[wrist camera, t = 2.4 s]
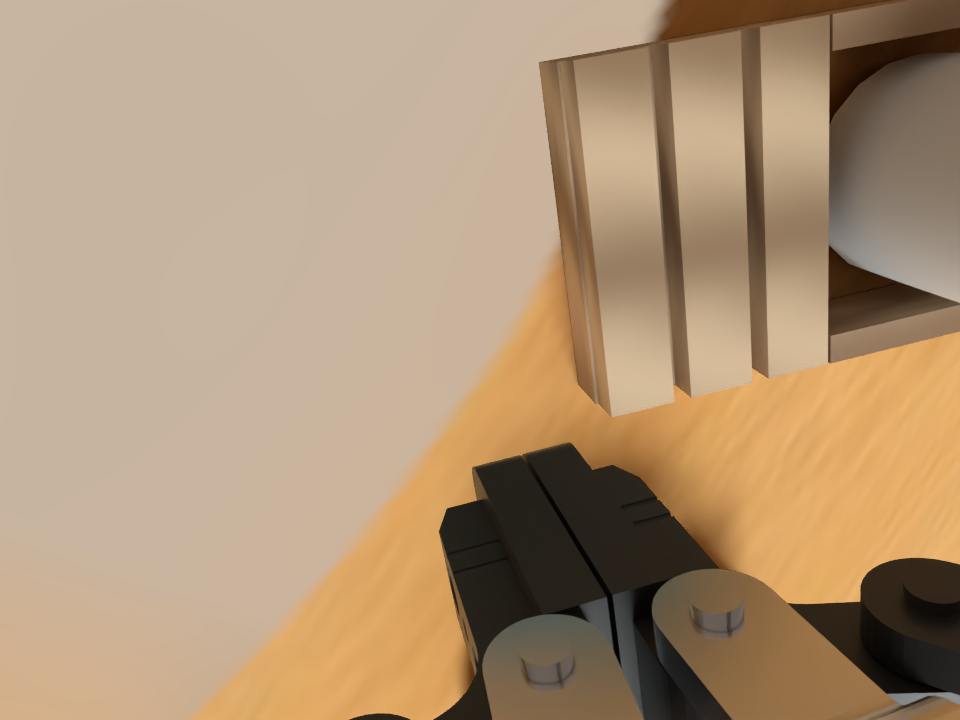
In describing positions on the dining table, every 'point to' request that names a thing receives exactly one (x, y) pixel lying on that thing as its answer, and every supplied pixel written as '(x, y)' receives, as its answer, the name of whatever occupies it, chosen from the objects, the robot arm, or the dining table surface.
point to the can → (900, 174)
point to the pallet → (715, 208)
